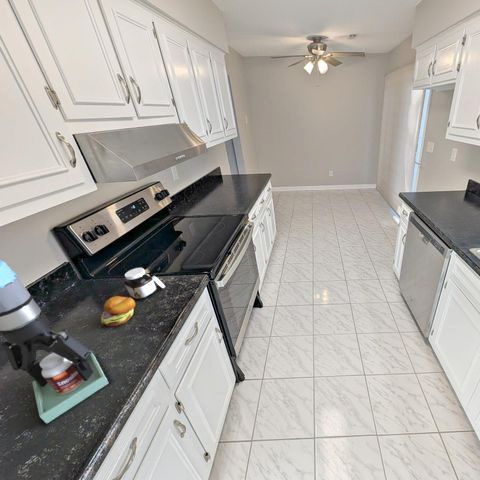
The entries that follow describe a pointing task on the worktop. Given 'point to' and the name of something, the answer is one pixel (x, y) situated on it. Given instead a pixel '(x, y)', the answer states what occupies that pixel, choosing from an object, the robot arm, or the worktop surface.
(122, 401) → the worktop surface
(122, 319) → the cheeseburger
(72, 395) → the tray
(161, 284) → the spread jar
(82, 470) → the worktop surface
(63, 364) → the pill bottle
